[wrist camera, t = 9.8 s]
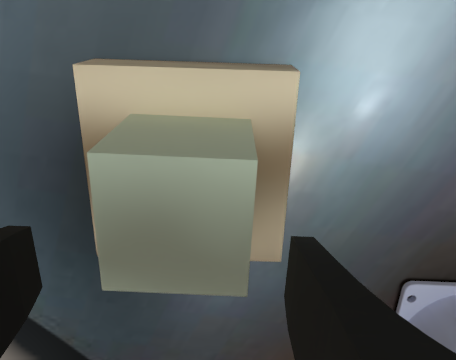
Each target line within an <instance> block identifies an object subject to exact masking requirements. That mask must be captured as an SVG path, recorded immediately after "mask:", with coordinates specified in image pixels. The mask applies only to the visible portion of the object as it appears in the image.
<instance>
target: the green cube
mask: <svg viewBox="0 0 456 360" xmlns="http://www.w3.org/2000/svg"><path fill="white" fill-rule="evenodd" d="M87 159H88V168H89V177H90V186H91V195H92V204H93V213H94V222H95V231H96V240H97V249H98V258H99V267H100V276H101V285H102V290H105V291H128V292H151V293H173V294H196V295H219V296H241V297H247V292H248V280H249V267H250V254H251V241H252V229H253V216H254V203H255V190H256V178H257V165H258V158H257V153H256V147H255V141H254V135H253V129H252V123H251V119H234V118H212V117H190V116H168V115H146V114H130V115H129V116H128V117H126V118H125V119H124V120H123V121H122V122H121V123H120V124H119V125H117V126H116V127H115V128H114V129H113V130H112V131H111V132H110V133H108V134H107V135H106V136H105V137H104V138H103V139H102V140H101V141H99V142H98V143H97V144H96V145H95V146H94V147H93V148H91V149H90V150H89V151H88V152H87Z"/></svg>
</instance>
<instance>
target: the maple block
mask: <svg viewBox="0 0 456 360" xmlns="http://www.w3.org/2000/svg"><path fill="white" fill-rule="evenodd" d="M73 71H74V79H75V87H76V95H77V102H78V110H79V118H80V126H81V134H82V142H83V149H84V157H85V165H86V173H87V181H88V189H89V196H90V204H91V212H92V220H93V228H94V236H95V243H96V251H97V256H98V249H97V240H96V231H95V222H94V213H93V204H92V195H91V186H90V177H89V168H88V159H87V152H88V151H89V150H90V149H91V148H93V147H94V146H95V145H96V144H97V143H98V142H99V141H101V140H102V139H103V138H104V137H105V136H106V135H107V134H108V133H110V132H111V131H112V130H113V129H114V128H115V127H116V126H117V125H119V124H120V123H121V122H122V121H123V120H124V119H125V118H126V117H128V116H129V115H130V114H146V115H168V116H190V117H212V118H234V119H251V123H252V129H253V135H254V141H255V147H256V153H257V158H258V165H257V178H256V190H255V203H254V216H253V229H252V241H251V254H250V261H269V262H281V256H282V246H283V236H284V226H285V216H286V206H287V197H288V187H289V177H290V167H291V157H292V147H293V137H294V127H295V117H296V107H297V97H298V87H299V78H300V71H299V70H297V69H296V68H295V67H293V66H292V65H278V64H247V63H215V62H184V61H152V60H121V59H91V60H88V61H84V62H80V63H76V64H73Z"/></svg>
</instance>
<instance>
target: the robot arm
mask: <svg viewBox="0 0 456 360" xmlns="http://www.w3.org/2000/svg"><path fill="white" fill-rule="evenodd" d="M41 289H42V282H41V277H40V272H39V267H38V262H37V257H36V252H35V247H34V242H33V237H32V231H31V227H30V226H6V227H3V228H0V358H1V356H2V355H3V354H4V352H5V350H6V349H7V348H8V346H9V345H10V343H11V342H12V340H13V339H14V337H15V336H16V334H17V333H18V331H19V330H20V328H21V327H22V325H23V324H24V322H25V321H26V319H27V317H28V315H29V313H30V311H31V309H32V308H33V306H34V304H35V302H36V299H37V297H38V295H39V293H40V291H41ZM411 295H413V296H412V297H410V298H408V297H409V296H411ZM284 298H285V307H286V317H287V325H288V332H289V336H290V341H291V345H292V349H293V353H294V358H295V360H456V282H431V281H409V282H407V283H405V284H404V285H403V287H402V290H401V294H400V298H399V302H398V305H397V309H396V312H395V311H393V310H392V309H391V308H390V307H388V306H387V305H386V304H385V303H383V302H382V301H381V300H380V299H379V298H377V297H376V296H375V295H374V294H373V293H371V292H370V291H369V290H368V289H367V288H366V287H365V286H363V285H362V284H361V283H360V282H359V281H358V280H357V279H356V278H355V277H353V276H352V275H351V274H350V273H349V272H348V271H347V270H346V269H345V268H344V267H343V266H342V265H341V264H340V263H339V262H338V261H337V260H336V259H335V258H334V257H333V256H332V255H331V254H330V253H329V252H328V251H327V250H326V249H325V248H324V247H323V246H322V245H321V244H320V243H319V242H318V241H317V240H316V239H315V238H314V237H297V236H291V242H290V251H289V260H288V268H287V277H286V286H285V294H284Z"/></svg>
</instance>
